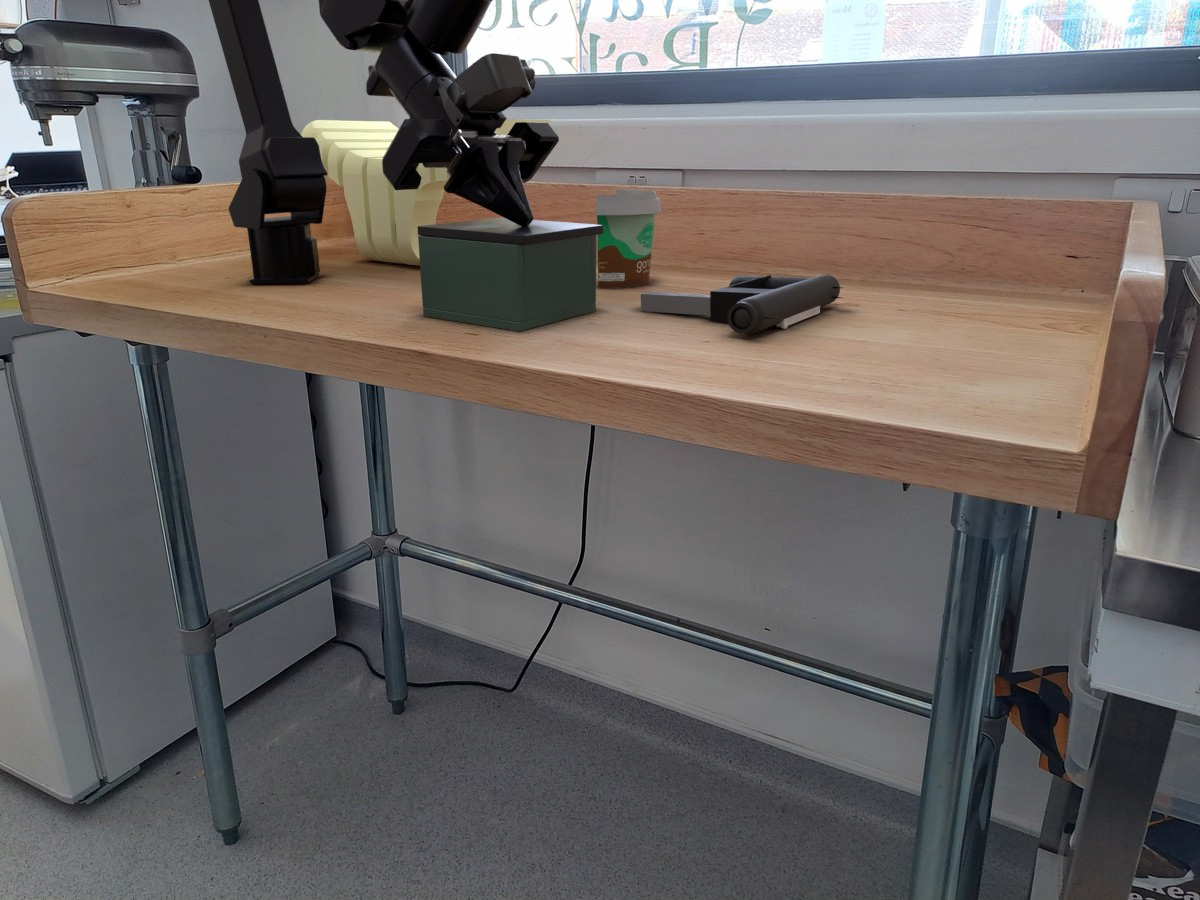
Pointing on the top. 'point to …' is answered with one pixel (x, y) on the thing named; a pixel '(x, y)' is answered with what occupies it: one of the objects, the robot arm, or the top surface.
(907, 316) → the top surface
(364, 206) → the slatted curved stool
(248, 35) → the robot arm
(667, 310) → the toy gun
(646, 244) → the food container
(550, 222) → the box lid
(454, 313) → the box
